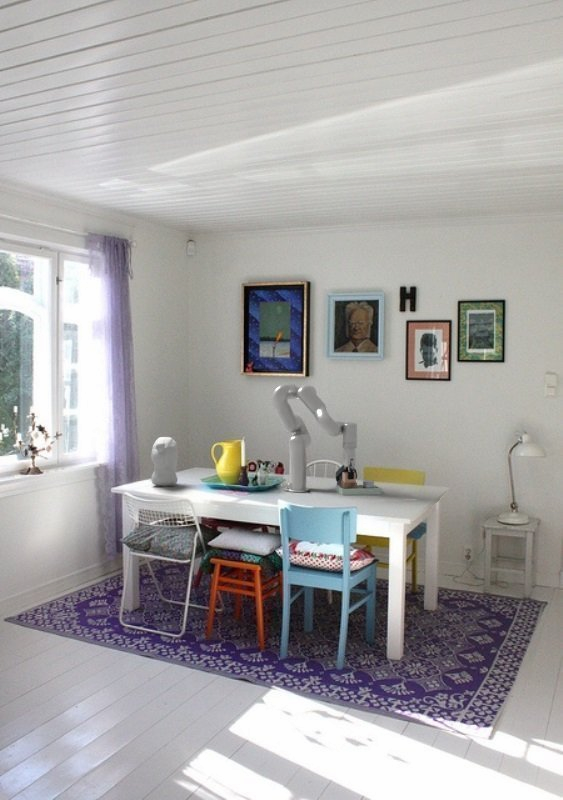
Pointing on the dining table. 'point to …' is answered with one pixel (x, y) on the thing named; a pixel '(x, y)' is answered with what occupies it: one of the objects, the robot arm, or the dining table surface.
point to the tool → (340, 473)
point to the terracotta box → (345, 478)
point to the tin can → (368, 484)
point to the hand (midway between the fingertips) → (349, 477)
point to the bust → (164, 462)
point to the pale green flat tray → (359, 490)
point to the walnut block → (348, 485)
